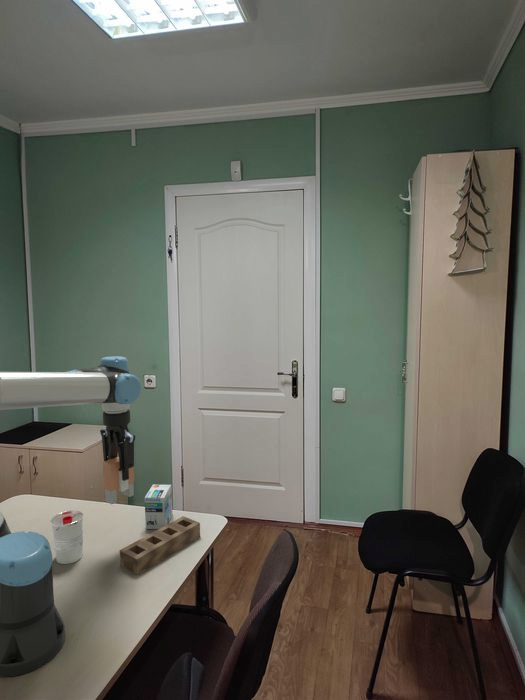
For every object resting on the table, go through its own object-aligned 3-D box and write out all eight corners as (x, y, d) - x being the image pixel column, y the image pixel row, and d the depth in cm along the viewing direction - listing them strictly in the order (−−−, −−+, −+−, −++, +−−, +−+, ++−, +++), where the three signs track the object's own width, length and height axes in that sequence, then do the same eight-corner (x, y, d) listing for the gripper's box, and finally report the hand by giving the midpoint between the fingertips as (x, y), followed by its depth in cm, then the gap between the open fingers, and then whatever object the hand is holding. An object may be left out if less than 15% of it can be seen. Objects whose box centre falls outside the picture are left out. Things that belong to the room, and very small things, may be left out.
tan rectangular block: (112, 505, 127) (110, 464, 126) (104, 501, 129) (102, 461, 128) (134, 495, 134) (133, 456, 132) (127, 492, 136) (126, 453, 134)
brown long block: (137, 575, 120) (136, 559, 119) (120, 565, 124) (119, 550, 124) (200, 536, 139) (199, 522, 139) (183, 529, 143) (183, 516, 143)
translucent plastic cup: (72, 569, 123) (69, 527, 121) (44, 565, 124) (42, 524, 123) (92, 549, 132) (90, 510, 131) (67, 546, 134) (65, 508, 133)
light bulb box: (165, 529, 143) (164, 497, 142) (144, 529, 143) (143, 497, 142) (173, 513, 154) (172, 483, 153) (153, 513, 154) (152, 483, 153)
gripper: (145, 411, 127) (148, 491, 129) (110, 403, 136) (113, 477, 139) (123, 417, 121) (126, 500, 123) (87, 408, 130) (91, 485, 133)
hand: (119, 488), depth 131 cm, fingers closed on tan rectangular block, 3 cm apart
